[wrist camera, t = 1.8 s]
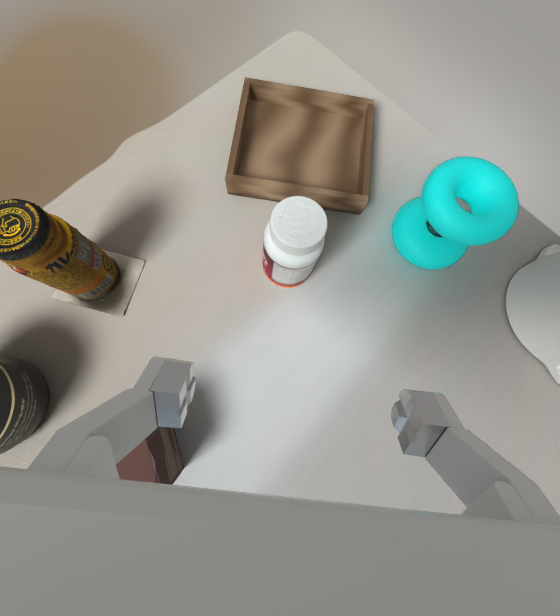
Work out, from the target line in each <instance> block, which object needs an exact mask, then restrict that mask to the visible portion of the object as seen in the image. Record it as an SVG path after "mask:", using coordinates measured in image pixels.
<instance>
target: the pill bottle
mask: <svg viewBox="0 0 560 616" xmlns="http://www.w3.org/2000/svg"><path fill="white" fill-rule="evenodd" d="M326 231H327V217H326V214H325V212H324V210H323V209H322V207H321V206H320V205H319V204H318V203H317V202H315V201H314V200H312V199H310V198H307V197H303V196H292V197H288V198H286V199H284V200H282V201H281V202H279V203H278V204H277V205H276V206H275V208H274V210H273V212H272V215H271V220H270V221H269V222H268V224H267V226H266V228H265V232H264V239H263V240H264V245H263V270H264V273H265V275H266V277H267V278H268V280H269V281H270V282H271V283H273V284H274V285H276V286H278V287H281V288H294V287H297V286H299V285H301V284H302V283H303V282H305V281H306V279H307V278H308V276H309V275H310V273H311V271H312V269H313V267H314V266H315V264H316V262H317V260H318V258H319V256H320V254H321V253H322V250H323V247H324V241H325V237H324V236H325V233H326Z"/></svg>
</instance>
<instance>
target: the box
mask: <svg viewBox="0 0 560 616" xmlns="http://www.w3.org/2000/svg"><path fill="white" fill-rule="evenodd" d="M116 467H117V471H118V474H119V478H120V479H122V480H131V481H141V482H150V483H160V484H169V485H172V484H173V483H174V482H175V480H176V479H177V477H178V476H179V475H180V473H181V472H182V470H183V469H184V467H183V463H182V459H181V455H180V451H179V447H178V443H177V439H176V435H175V432H174V428H171V427H160V426H157V429H155V430H154V431H153V432H152V433H151V434H150V435H149V436H148V437H146V438H145V439H144V440H143V441H142V442H141V443H140V444H139V445H137V446H136V447H135V448H134V449H133V450H132V451H131V452H130V453H128V454H127V455H126V456H125V457H124V458H123V459H122V460H121V461H119V462H118V463H117V464H116Z"/></svg>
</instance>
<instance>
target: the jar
mask: <svg viewBox="0 0 560 616" xmlns="http://www.w3.org/2000/svg"><path fill="white" fill-rule="evenodd" d="M47 405H48V389H47V385H46V382H45V380H44V378H43V376H42V375H41V374H40V372H39V371H38V370H36V369H35V368H34V367H32V366H31V365H29V364H27V363H24V362H22V361H20V360H17V359H13V358H9V357H0V454H2V453H4V452H6V451H8V450H10V449H11V448H13V447H15V446H16V445H18V444H19V443H21V442H22V441H23V440H25V439H26V438H27V437H28V436H30V435H31V434H32V433H33V432H34V431H35V429H36V428H37V427H38V425H39V424H40V422H41V421H42V419H43V417H44V415H45V412H46V409H47Z"/></svg>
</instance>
